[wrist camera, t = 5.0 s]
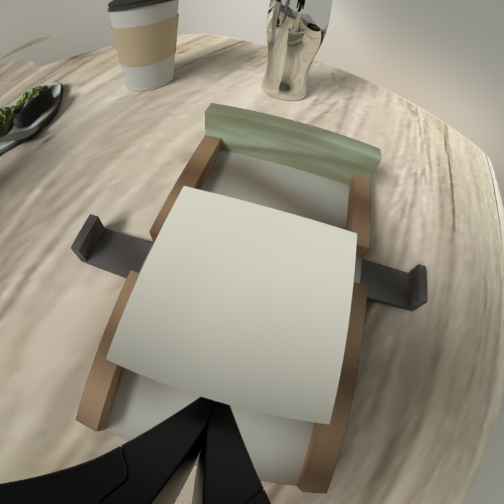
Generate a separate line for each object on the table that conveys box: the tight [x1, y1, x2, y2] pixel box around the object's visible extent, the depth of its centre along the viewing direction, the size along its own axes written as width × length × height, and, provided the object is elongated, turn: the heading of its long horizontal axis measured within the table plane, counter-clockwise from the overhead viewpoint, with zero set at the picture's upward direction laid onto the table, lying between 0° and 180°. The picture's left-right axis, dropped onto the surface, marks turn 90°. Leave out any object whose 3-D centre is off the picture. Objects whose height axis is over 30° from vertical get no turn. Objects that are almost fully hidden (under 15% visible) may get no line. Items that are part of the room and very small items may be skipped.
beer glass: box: [261, 0, 332, 101], centre depth 26 cm, size 7×7×15 cm
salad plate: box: [0, 82, 63, 154], centre depth 25 cm, size 19×18×5 cm
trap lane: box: [71, 103, 427, 493], centre depth 17 cm, size 26×26×5 cm
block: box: [106, 186, 357, 424], centre depth 12 cm, size 6×6×10 cm
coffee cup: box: [108, 0, 179, 91], centre depth 26 cm, size 9×9×15 cm
